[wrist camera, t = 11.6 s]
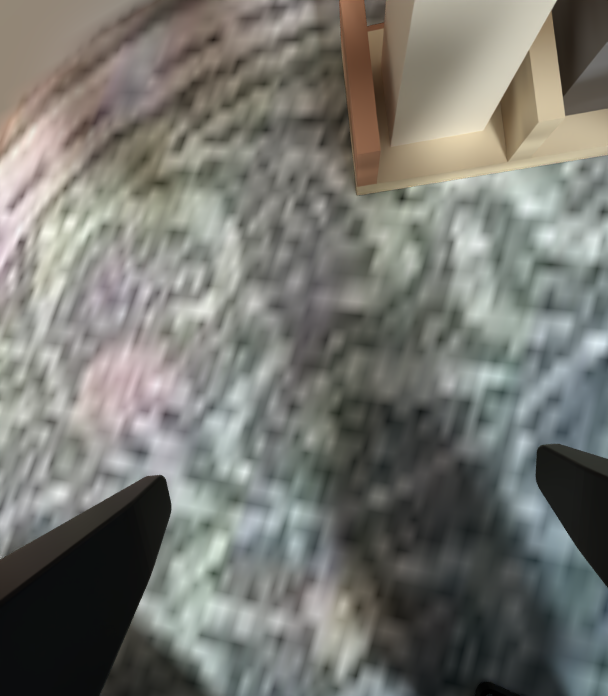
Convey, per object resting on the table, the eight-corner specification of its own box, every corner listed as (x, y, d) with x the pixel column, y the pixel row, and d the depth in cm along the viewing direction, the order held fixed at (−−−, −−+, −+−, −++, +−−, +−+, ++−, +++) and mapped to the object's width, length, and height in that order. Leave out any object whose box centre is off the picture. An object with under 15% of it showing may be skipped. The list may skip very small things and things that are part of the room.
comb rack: (681, 142, 17) (898, 0, 10) (357, 195, 20) (357, 107, 13) (658, -22, 18) (853, -266, 11) (341, 48, 20) (333, -117, 13)
